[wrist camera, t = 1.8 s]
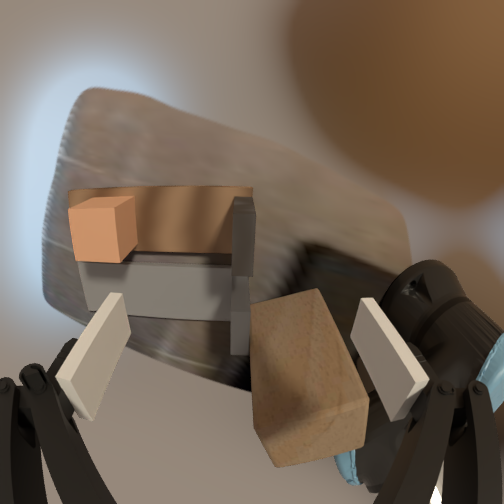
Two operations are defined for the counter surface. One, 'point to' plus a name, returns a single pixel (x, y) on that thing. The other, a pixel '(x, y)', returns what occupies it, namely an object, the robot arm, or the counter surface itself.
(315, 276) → the counter surface
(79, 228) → the terracotta cube
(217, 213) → the walnut strip
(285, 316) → the wooden block
